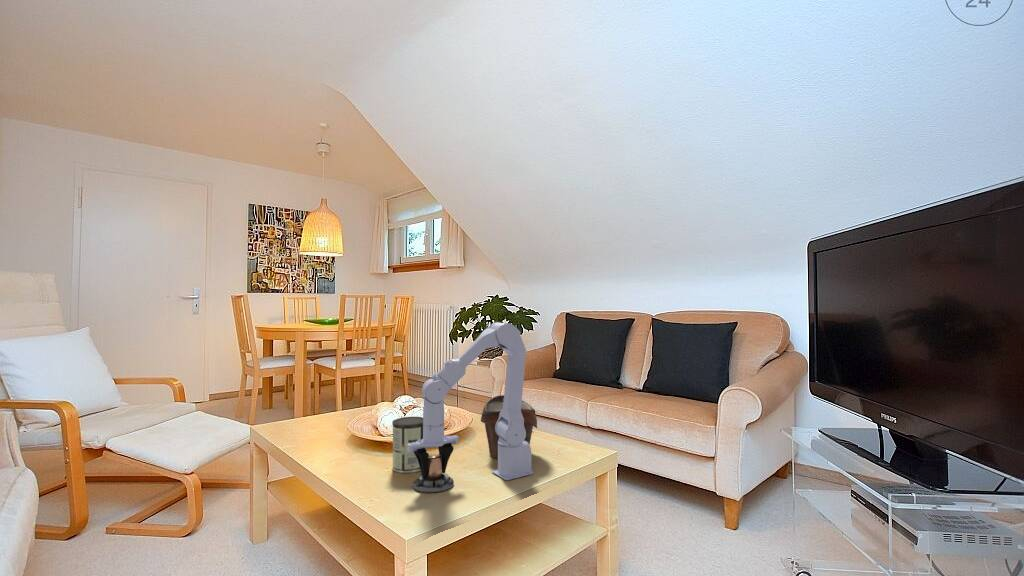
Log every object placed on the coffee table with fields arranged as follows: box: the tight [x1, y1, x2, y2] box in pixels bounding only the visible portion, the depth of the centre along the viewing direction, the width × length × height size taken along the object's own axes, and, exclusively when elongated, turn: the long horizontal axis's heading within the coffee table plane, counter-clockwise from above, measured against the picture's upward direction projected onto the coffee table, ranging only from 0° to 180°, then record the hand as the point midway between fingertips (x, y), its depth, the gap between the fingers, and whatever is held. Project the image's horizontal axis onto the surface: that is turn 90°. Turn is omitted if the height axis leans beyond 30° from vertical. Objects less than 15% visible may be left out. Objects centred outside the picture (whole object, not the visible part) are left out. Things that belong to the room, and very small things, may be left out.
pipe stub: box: [426, 453, 442, 481], centre depth 129 cm, size 4×4×7 cm
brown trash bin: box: [480, 394, 538, 459], centre depth 156 cm, size 18×20×18 cm
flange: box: [412, 472, 455, 494], centre depth 129 cm, size 11×11×2 cm
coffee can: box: [391, 416, 427, 474], centre depth 144 cm, size 10×10×14 cm
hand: (433, 474), depth 129 cm, fingers open, 5 cm apart
